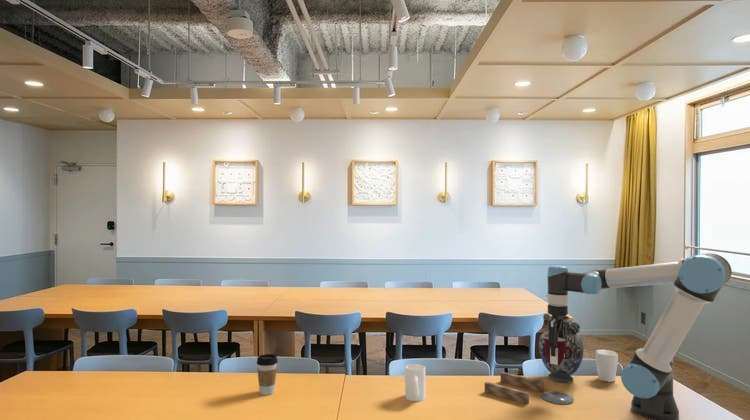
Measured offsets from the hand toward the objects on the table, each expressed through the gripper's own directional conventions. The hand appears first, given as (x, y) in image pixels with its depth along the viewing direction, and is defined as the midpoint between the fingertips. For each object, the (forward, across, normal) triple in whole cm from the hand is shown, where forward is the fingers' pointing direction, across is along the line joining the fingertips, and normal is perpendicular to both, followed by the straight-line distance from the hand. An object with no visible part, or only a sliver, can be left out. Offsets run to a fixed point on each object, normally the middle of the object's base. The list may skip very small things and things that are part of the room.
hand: (557, 361), depth 181 cm
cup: (+15, -36, +10) cm, 40 cm away
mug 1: (+15, +38, -43) cm, 59 cm away
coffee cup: (+15, +72, -93) cm, 119 cm away
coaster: (+15, 0, 0) cm, 15 cm away
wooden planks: (+15, +5, -16) cm, 22 cm away
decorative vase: (+15, -23, -6) cm, 28 cm away
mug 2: (+2, 0, 0) cm, 2 cm away
